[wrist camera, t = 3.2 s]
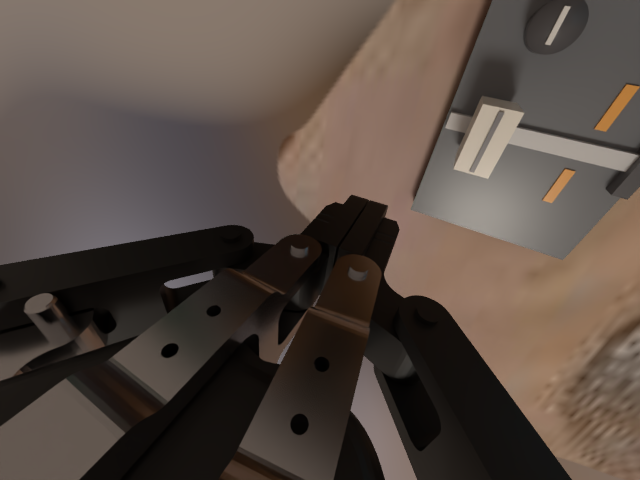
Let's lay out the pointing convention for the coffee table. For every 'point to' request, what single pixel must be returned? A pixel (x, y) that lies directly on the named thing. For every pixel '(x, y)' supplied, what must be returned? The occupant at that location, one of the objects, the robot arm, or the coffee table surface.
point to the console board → (546, 123)
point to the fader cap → (487, 136)
